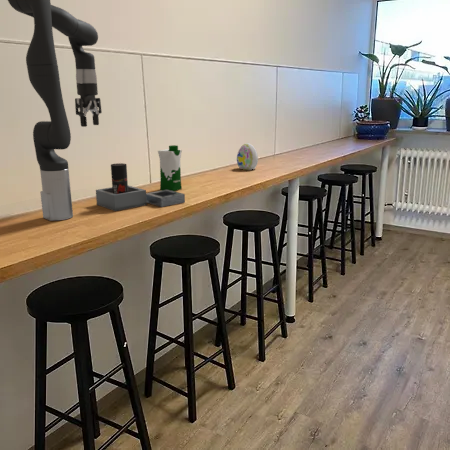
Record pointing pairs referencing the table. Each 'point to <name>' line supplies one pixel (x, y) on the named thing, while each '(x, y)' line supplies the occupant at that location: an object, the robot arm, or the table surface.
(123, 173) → the deodorant
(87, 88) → the robot arm
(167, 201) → the socket collar
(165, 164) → the milk carton
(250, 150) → the decorative egg
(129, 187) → the bin
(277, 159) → the table surface
